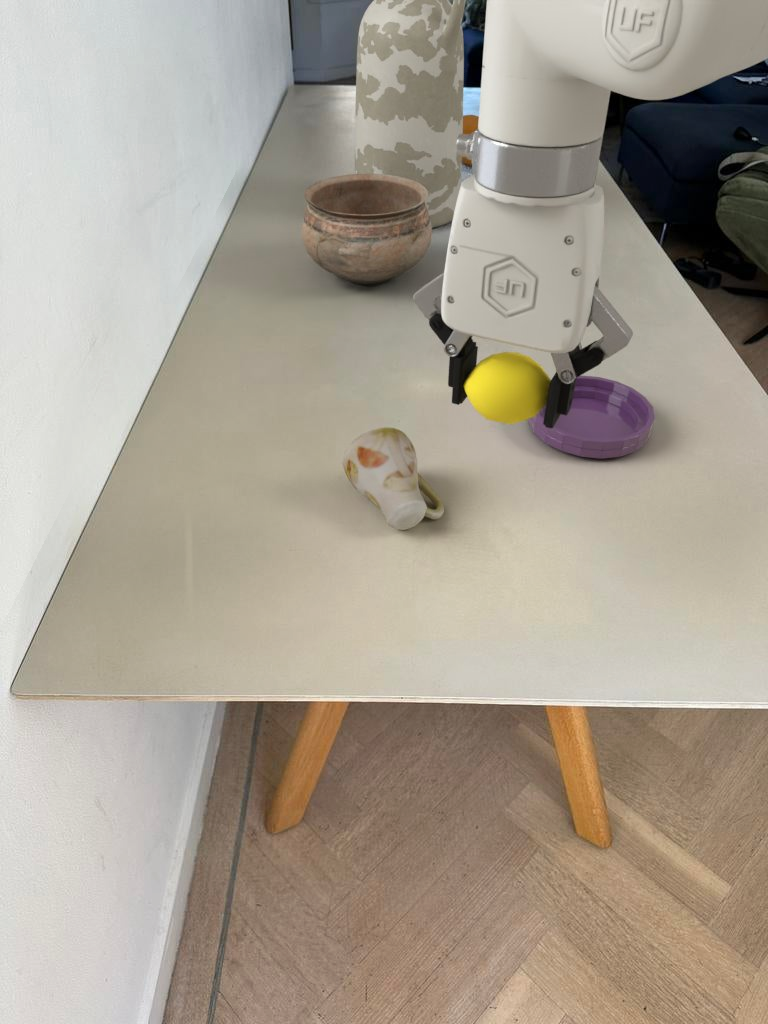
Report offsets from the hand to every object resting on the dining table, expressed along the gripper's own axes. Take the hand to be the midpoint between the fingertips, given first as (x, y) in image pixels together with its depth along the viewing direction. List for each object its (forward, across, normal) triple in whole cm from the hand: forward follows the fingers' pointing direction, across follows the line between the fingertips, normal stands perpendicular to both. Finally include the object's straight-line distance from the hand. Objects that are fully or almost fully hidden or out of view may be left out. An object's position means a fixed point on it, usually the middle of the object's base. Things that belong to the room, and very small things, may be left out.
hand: (507, 405), depth 59 cm
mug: (+16, -11, +2) cm, 20 cm away
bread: (+16, -42, +111) cm, 120 cm away
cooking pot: (+16, -38, +49) cm, 64 cm away
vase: (+16, -43, +76) cm, 89 cm away
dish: (+16, +3, +24) cm, 29 cm away
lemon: (+1, 0, 0) cm, 1 cm away
